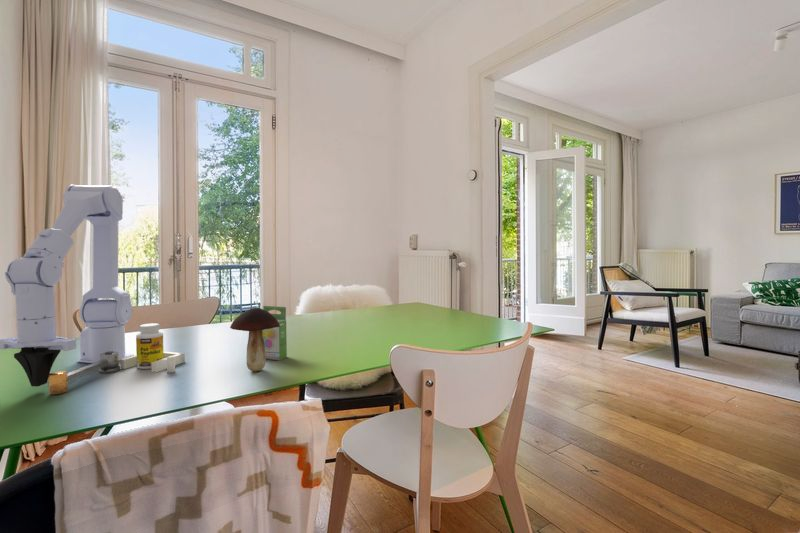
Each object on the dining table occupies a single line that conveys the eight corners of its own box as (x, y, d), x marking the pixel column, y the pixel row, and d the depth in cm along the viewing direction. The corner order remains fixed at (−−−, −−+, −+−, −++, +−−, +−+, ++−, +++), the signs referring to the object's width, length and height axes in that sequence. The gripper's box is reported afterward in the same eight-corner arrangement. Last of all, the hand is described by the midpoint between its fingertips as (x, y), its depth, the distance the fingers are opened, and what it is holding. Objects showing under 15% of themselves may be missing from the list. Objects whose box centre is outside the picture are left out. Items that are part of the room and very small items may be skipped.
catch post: (165, 372, 92) (165, 357, 92) (171, 370, 93) (170, 355, 93) (171, 373, 92) (170, 358, 91) (176, 370, 93) (176, 356, 93)
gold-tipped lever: (107, 367, 95) (106, 349, 94) (122, 367, 95) (122, 350, 94) (43, 394, 77) (42, 373, 77) (61, 394, 77) (60, 373, 77)
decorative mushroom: (268, 361, 101) (267, 303, 100) (288, 371, 93) (288, 308, 92) (223, 370, 94) (222, 307, 93) (241, 382, 85) (240, 313, 85)
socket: (120, 368, 95) (120, 359, 94) (151, 358, 103) (151, 350, 103) (155, 372, 92) (155, 363, 92) (184, 361, 100) (184, 353, 100)
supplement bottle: (136, 371, 93) (135, 328, 92) (136, 365, 97) (135, 324, 97) (164, 367, 96) (163, 325, 95) (163, 361, 100) (162, 321, 100)
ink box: (255, 358, 104) (254, 307, 103) (264, 354, 107) (263, 305, 107) (278, 360, 102) (278, 309, 101) (287, 356, 106) (286, 306, 105)
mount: (94, 372, 91) (94, 369, 91) (111, 367, 95) (111, 364, 95) (108, 374, 90) (108, 370, 90) (124, 369, 94) (124, 365, 94)
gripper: (-20, 320, 75) (-17, 390, 76) (51, 322, 74) (54, 393, 75) (18, 314, 82) (21, 378, 83) (84, 315, 81) (86, 380, 82)
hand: (39, 384), depth 79 cm, fingers closed
